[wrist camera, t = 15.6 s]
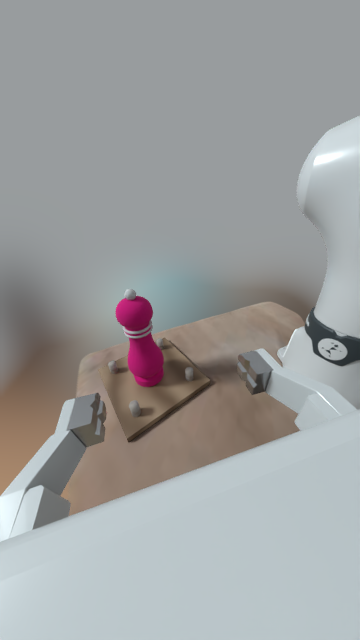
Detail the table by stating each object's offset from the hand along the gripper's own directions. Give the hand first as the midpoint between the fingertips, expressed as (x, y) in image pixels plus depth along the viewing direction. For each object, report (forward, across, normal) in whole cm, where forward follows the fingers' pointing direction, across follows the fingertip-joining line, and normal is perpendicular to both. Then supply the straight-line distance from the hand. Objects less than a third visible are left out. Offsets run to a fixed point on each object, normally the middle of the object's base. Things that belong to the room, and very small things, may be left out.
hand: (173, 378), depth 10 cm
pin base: (+20, +3, +24) cm, 31 cm away
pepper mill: (+20, +3, +23) cm, 30 cm away
